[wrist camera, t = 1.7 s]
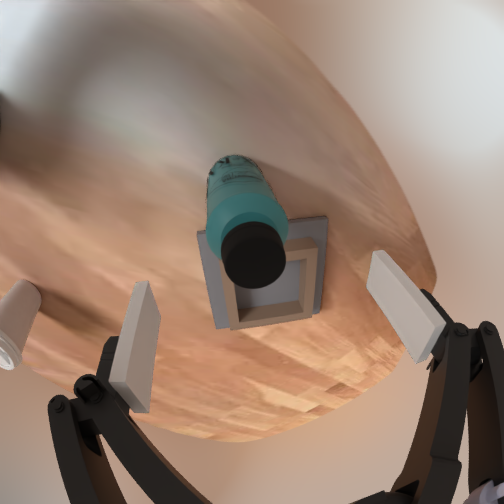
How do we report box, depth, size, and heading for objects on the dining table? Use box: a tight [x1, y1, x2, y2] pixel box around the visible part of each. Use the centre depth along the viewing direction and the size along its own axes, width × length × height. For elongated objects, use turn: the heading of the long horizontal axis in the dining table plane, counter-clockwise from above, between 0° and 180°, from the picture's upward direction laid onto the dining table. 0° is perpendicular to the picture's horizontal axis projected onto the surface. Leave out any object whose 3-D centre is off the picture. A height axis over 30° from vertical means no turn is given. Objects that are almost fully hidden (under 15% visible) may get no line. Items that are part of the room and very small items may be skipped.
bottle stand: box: [197, 216, 328, 330], centre depth 41 cm, size 18×18×4 cm
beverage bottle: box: [205, 155, 289, 289], centre depth 25 cm, size 6×7×20 cm
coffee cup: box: [0, 279, 42, 370], centre depth 31 cm, size 10×10×15 cm
